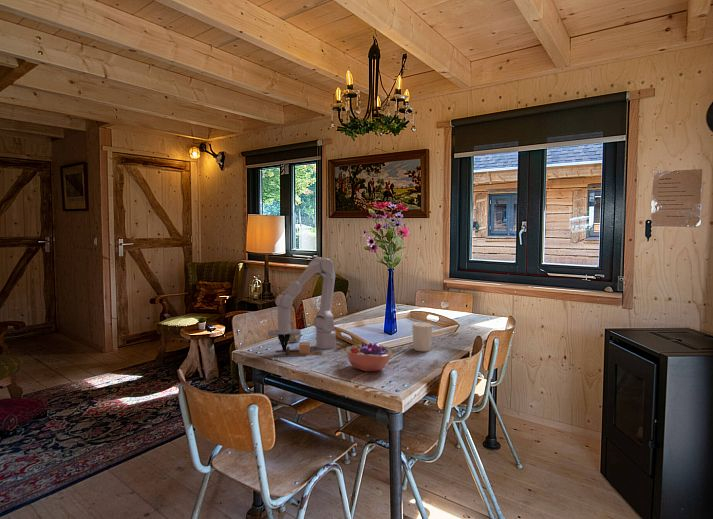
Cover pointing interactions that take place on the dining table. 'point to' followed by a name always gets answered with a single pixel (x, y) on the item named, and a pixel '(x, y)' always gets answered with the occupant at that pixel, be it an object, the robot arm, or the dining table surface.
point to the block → (304, 348)
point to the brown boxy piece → (298, 352)
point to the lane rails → (289, 355)
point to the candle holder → (422, 336)
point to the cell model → (368, 356)
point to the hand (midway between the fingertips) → (284, 350)
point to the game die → (294, 337)
